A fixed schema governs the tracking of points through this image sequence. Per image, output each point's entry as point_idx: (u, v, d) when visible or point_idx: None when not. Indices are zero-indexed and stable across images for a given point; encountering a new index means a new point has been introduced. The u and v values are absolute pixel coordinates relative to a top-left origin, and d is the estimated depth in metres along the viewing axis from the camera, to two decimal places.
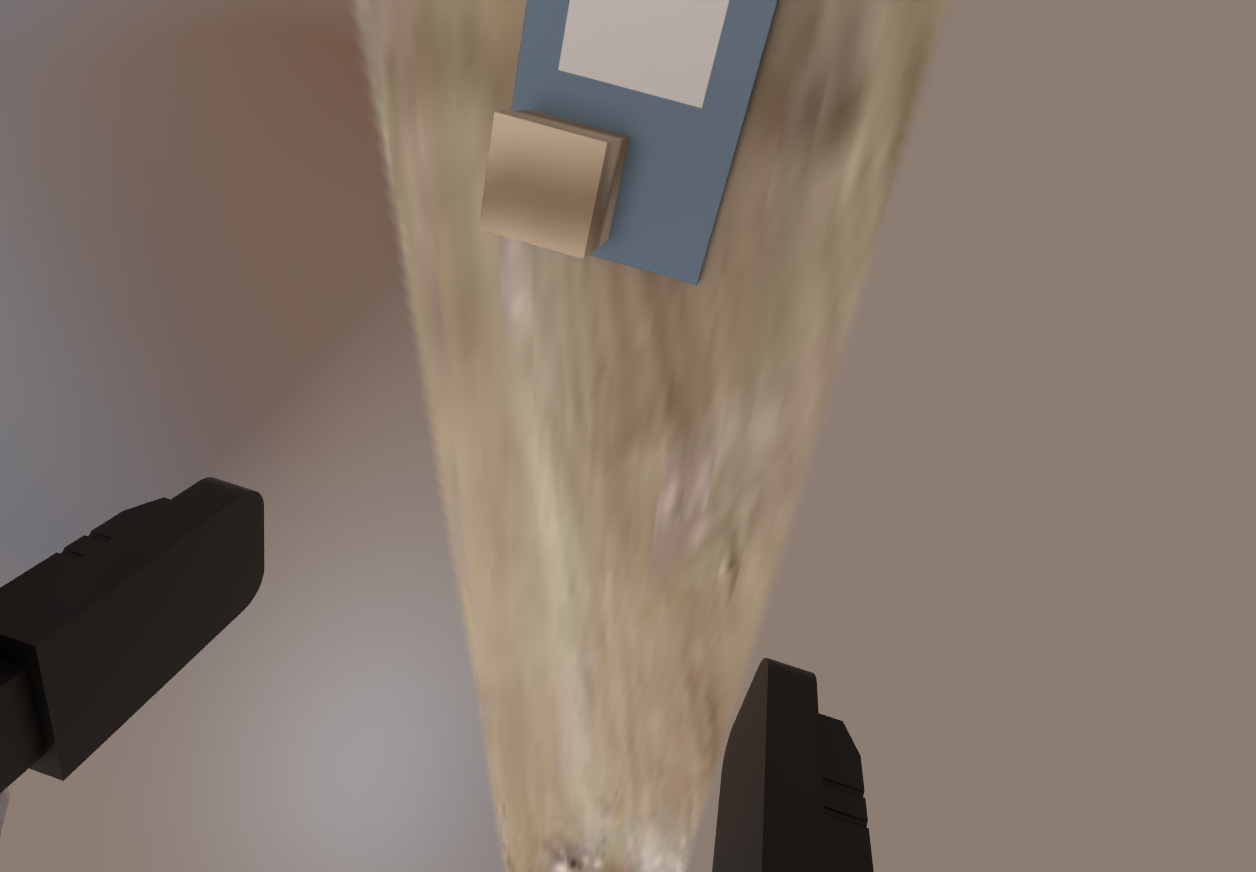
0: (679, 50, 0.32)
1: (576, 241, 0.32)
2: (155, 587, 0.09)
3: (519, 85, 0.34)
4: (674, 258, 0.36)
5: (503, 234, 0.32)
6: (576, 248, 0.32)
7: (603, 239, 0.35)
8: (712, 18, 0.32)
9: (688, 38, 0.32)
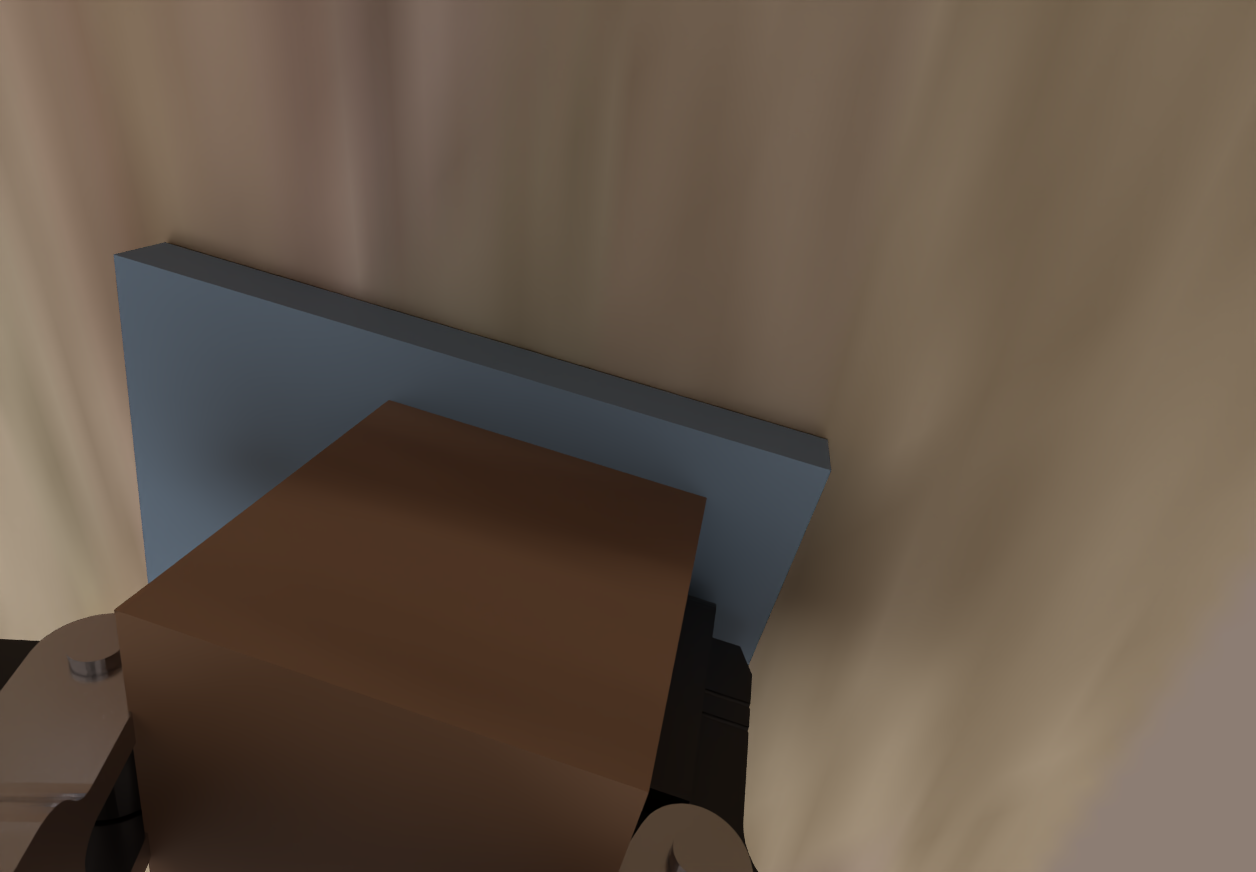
0: None
1: None
2: None
3: None
4: None
5: None
6: None
7: None
8: None
9: None
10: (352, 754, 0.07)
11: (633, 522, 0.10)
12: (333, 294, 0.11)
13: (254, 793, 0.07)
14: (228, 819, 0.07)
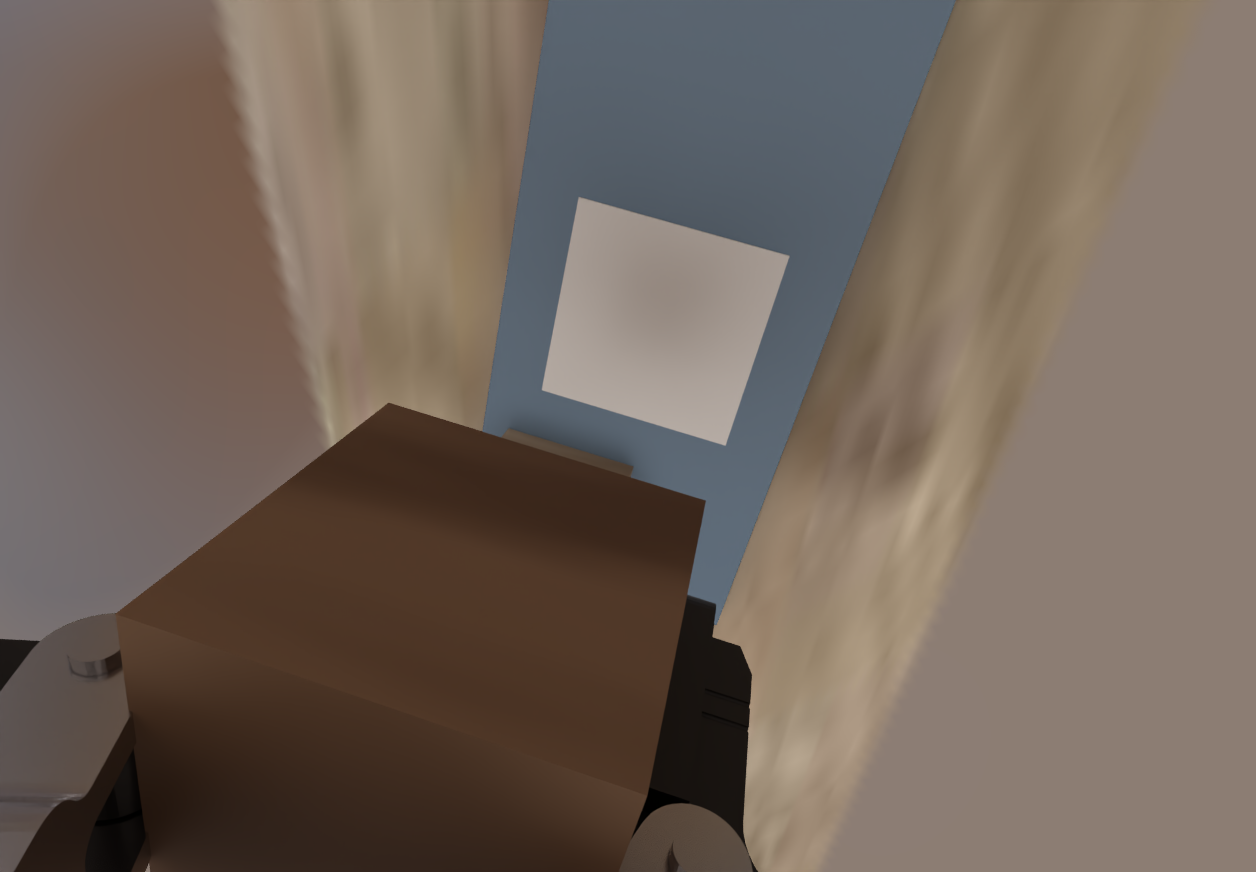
0: (697, 380, 0.25)
1: None
2: None
3: (492, 401, 0.27)
4: None
5: None
6: None
7: None
8: (740, 349, 0.24)
9: (709, 370, 0.25)
10: (353, 759, 0.07)
11: (631, 524, 0.10)
12: None
13: (254, 796, 0.07)
14: (229, 823, 0.08)
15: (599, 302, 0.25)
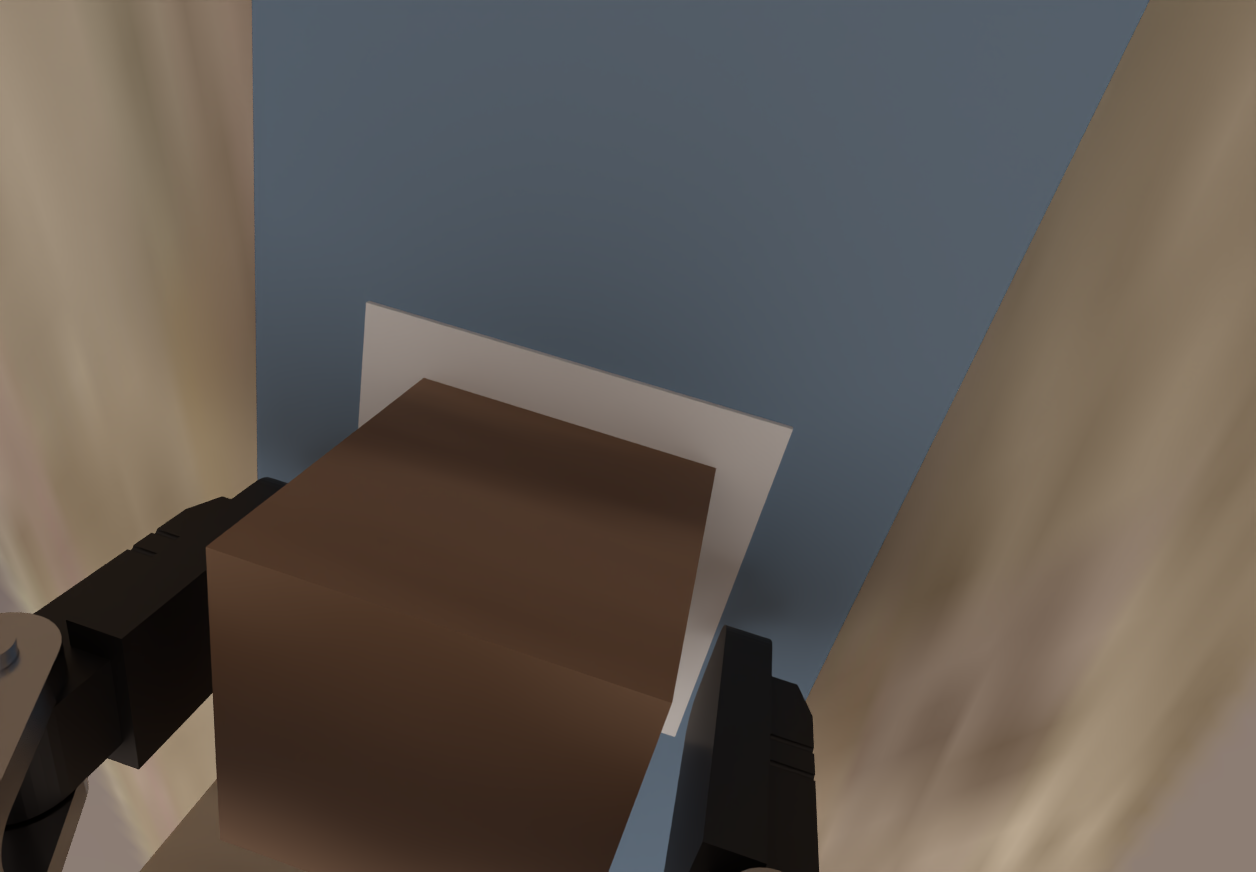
0: None
1: None
2: None
3: None
4: None
5: None
6: None
7: None
8: (698, 586, 0.13)
9: None
10: (411, 677, 0.08)
11: (649, 487, 0.10)
12: None
13: (319, 715, 0.08)
14: (295, 742, 0.08)
15: None
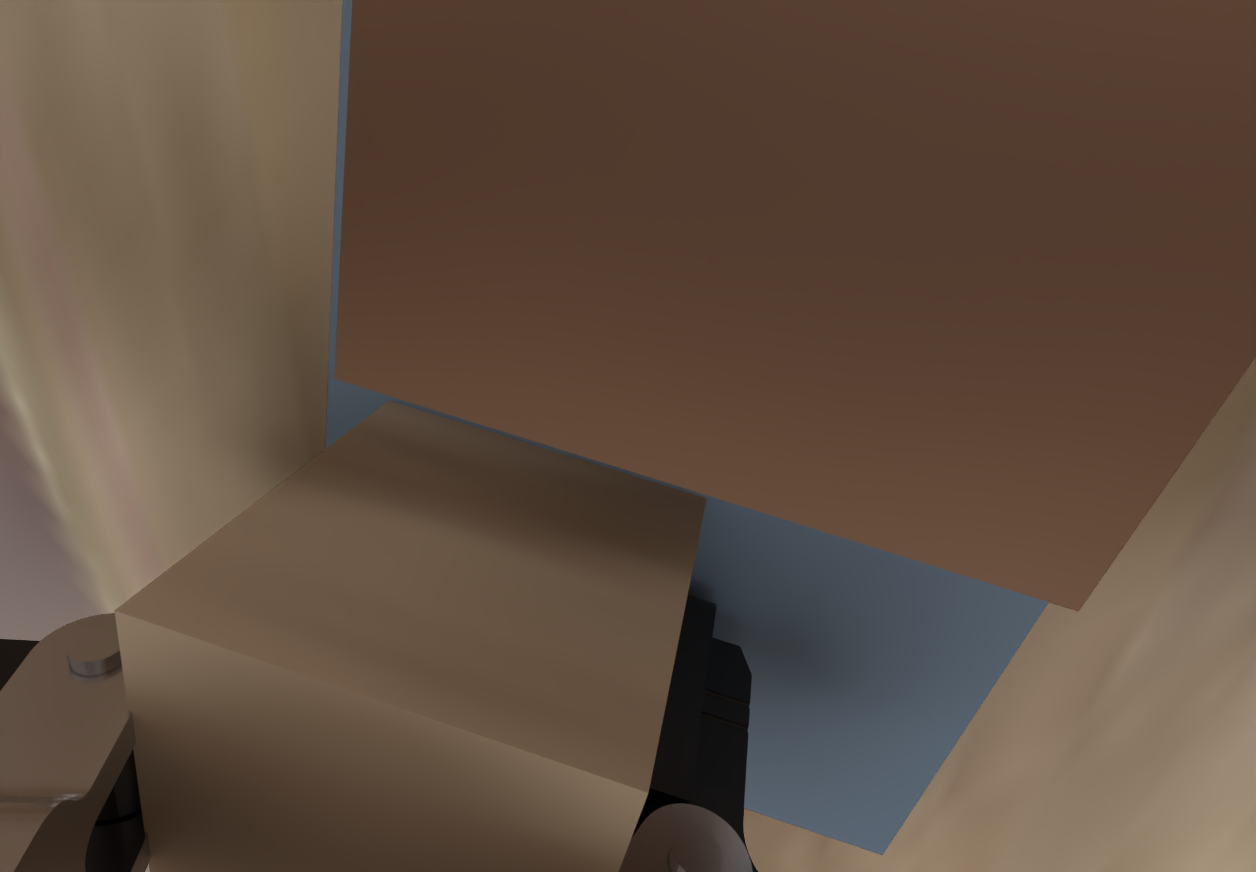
0: None
1: None
2: None
3: None
4: (822, 793, 0.13)
5: None
6: None
7: None
8: None
9: None
10: None
11: None
12: None
13: None
14: None
15: None
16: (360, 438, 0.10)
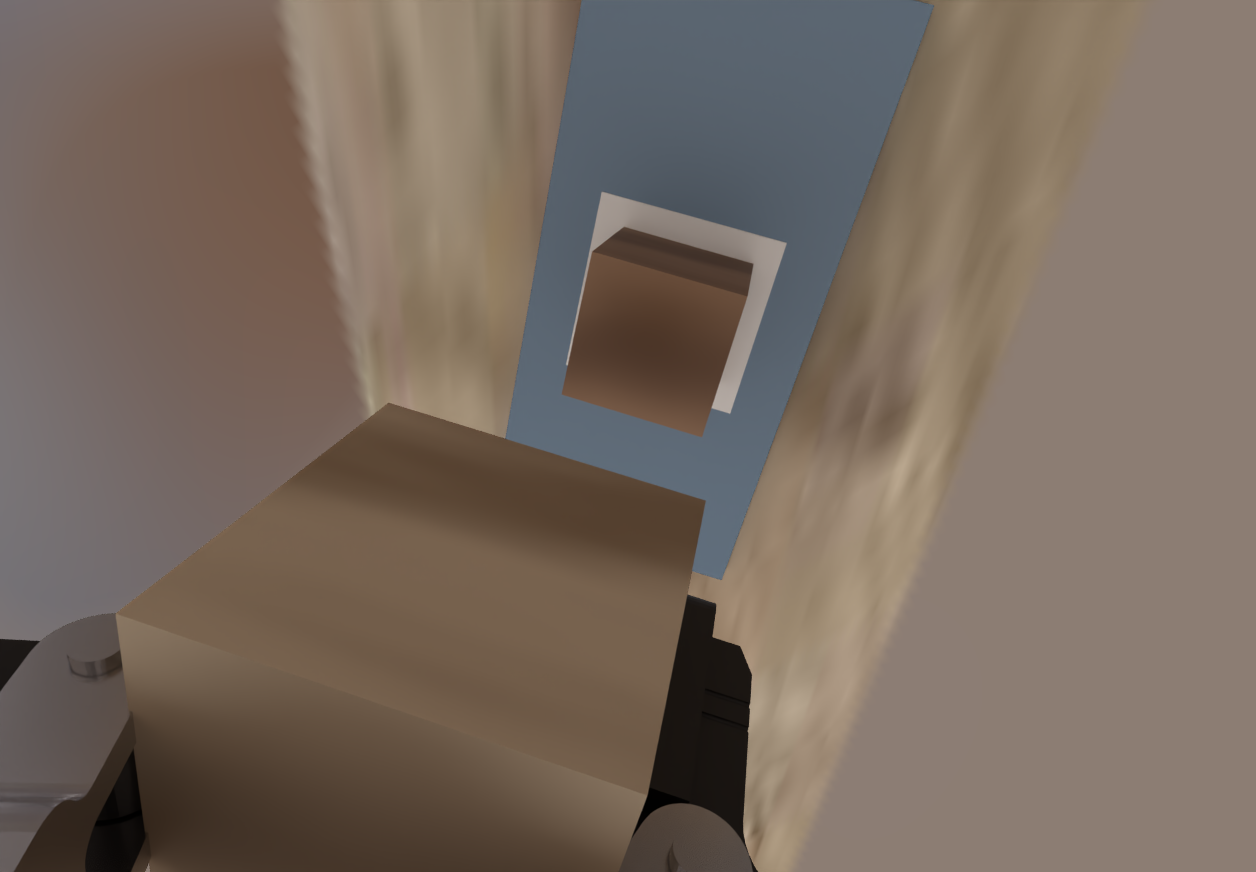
0: None
1: None
2: None
3: (521, 375, 0.30)
4: (696, 553, 0.32)
5: None
6: None
7: None
8: (743, 326, 0.27)
9: None
10: (657, 298, 0.22)
11: (727, 263, 0.25)
12: None
13: (618, 321, 0.23)
14: (606, 335, 0.23)
15: None
16: (360, 440, 0.10)
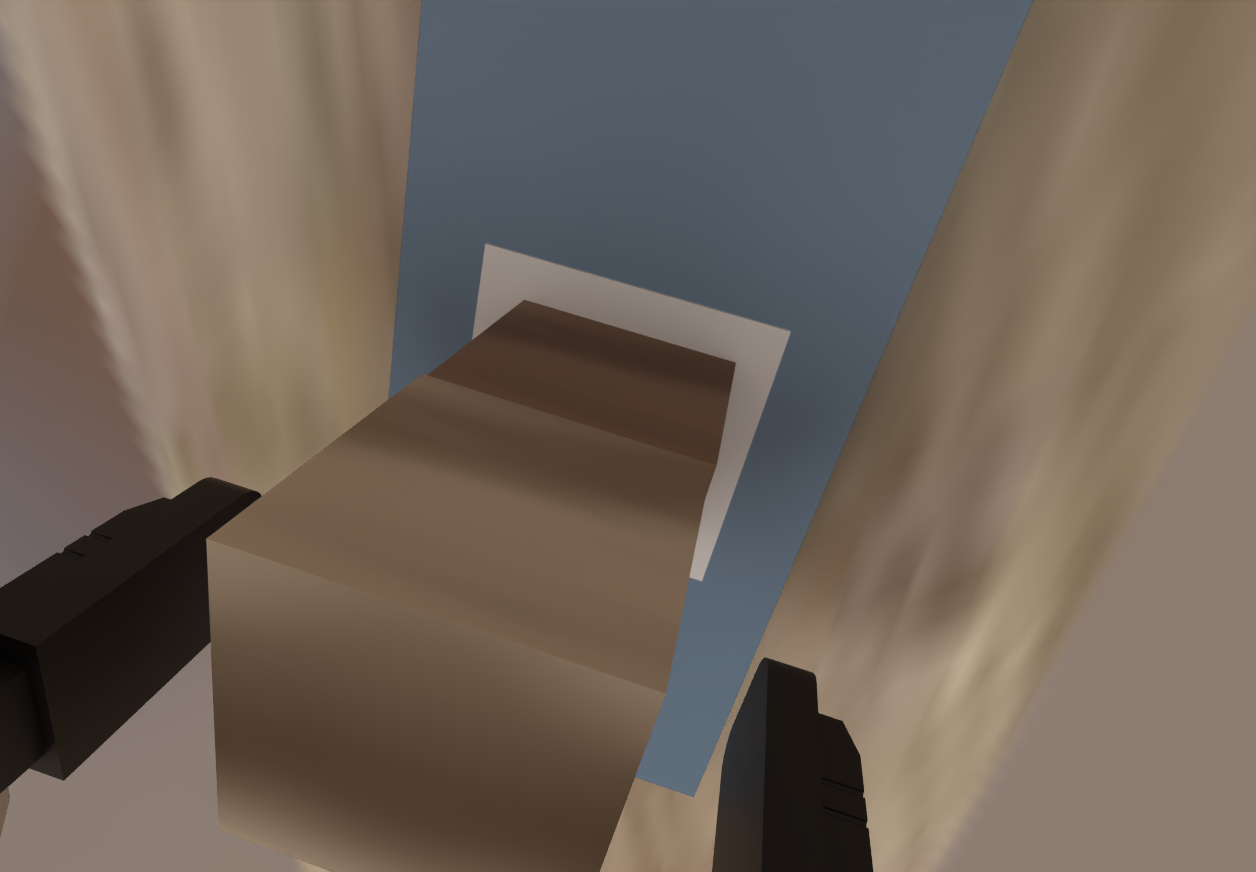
0: None
1: None
2: (156, 587, 0.09)
3: None
4: (656, 760, 0.22)
5: (298, 856, 0.10)
6: None
7: None
8: (721, 456, 0.17)
9: None
10: None
11: (691, 369, 0.15)
12: None
13: None
14: None
15: None
16: (400, 405, 0.11)
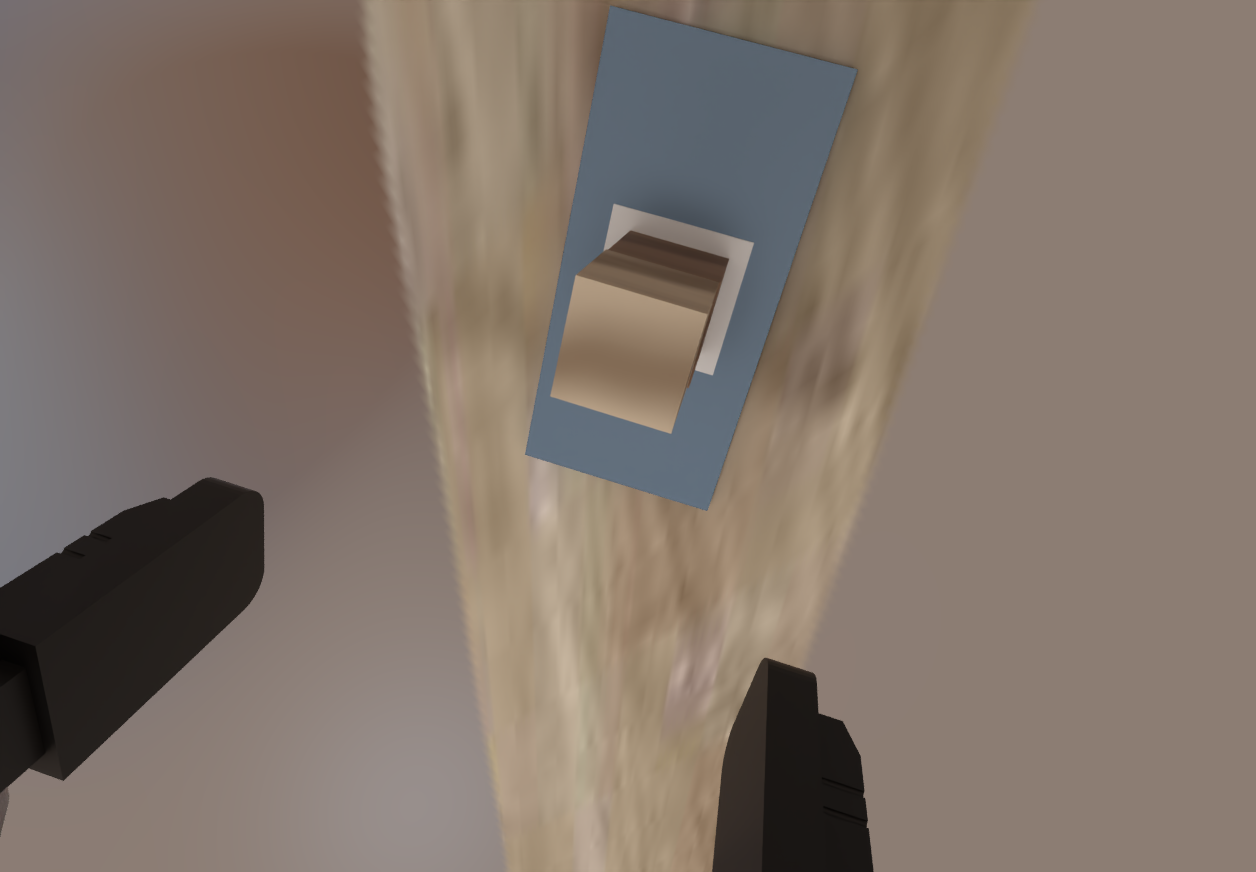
0: None
1: (664, 415, 0.28)
2: (155, 587, 0.09)
3: (549, 346, 0.38)
4: (687, 489, 0.41)
5: (578, 403, 0.28)
6: (663, 422, 0.28)
7: None
8: (722, 307, 0.36)
9: None
10: None
11: (709, 258, 0.34)
12: None
13: None
14: None
15: None
16: (604, 256, 0.29)
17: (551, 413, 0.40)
